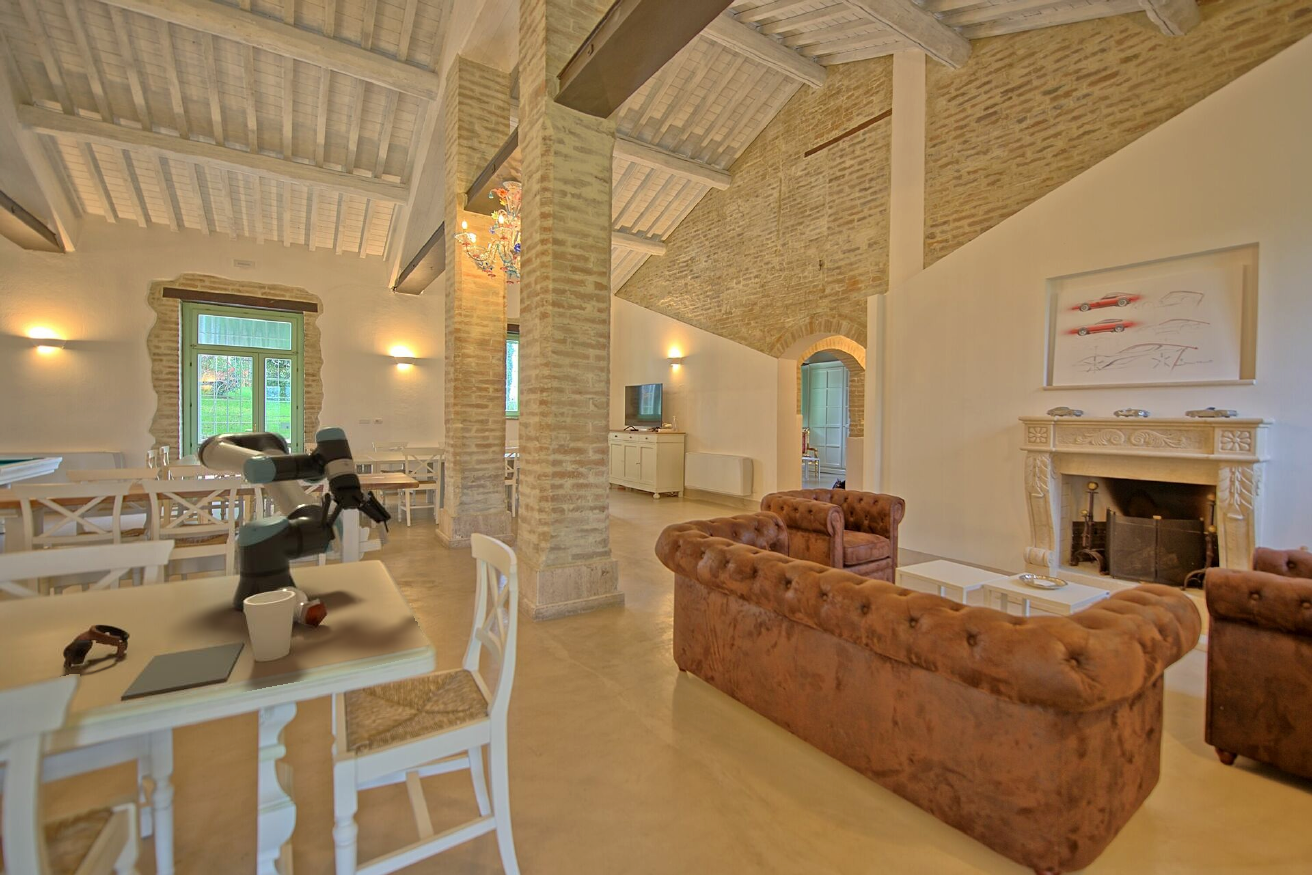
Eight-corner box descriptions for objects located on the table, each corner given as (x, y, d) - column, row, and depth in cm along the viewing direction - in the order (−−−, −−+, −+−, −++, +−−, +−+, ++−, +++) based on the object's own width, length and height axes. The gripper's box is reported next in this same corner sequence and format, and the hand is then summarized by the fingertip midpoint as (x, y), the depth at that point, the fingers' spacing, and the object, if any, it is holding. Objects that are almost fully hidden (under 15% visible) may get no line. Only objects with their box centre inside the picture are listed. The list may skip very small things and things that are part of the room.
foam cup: (302, 654, 126) (300, 596, 125) (252, 668, 119) (249, 607, 119) (290, 642, 133) (287, 587, 132) (241, 655, 126) (239, 597, 125)
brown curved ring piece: (80, 655, 127) (104, 620, 130) (121, 672, 128) (145, 636, 131) (35, 664, 116) (62, 625, 118) (81, 682, 117) (108, 643, 119)
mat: (244, 644, 132) (244, 641, 132) (226, 680, 114) (226, 677, 114) (154, 658, 124) (154, 655, 124) (121, 699, 107) (120, 696, 107)
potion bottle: (274, 624, 148) (319, 637, 143) (245, 614, 140) (292, 627, 135) (294, 590, 152) (339, 602, 148) (268, 578, 144) (314, 590, 140)
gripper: (303, 472, 148) (324, 547, 142) (390, 471, 170) (411, 536, 164) (289, 485, 151) (308, 559, 145) (376, 483, 173) (396, 547, 167)
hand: (363, 547), depth 154 cm, fingers open, 13 cm apart
